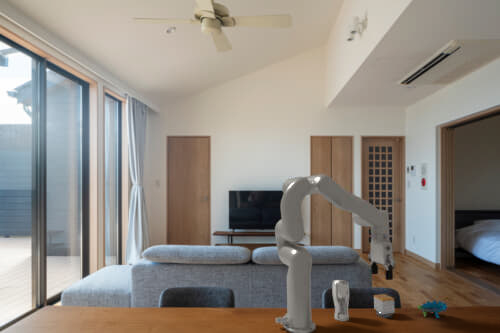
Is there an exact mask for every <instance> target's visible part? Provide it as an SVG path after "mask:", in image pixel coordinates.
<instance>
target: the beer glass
mask: <svg viewBox="0 0 500 333" xmlns="http://www.w3.org/2000/svg"><path fill="white" fill-rule="evenodd" d="M331 286H332V287H331V289H332V290H331V291H332V299H333V304H334V317H333V318H334V319H335V320H336V321H340V322H347V321H349V320H350V316H349V301H350V286H349V282H348V280H347V281H346V280H343V279H334V280H332V285H331Z"/></svg>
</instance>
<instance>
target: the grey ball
mask: <svg viewBox="0 0 500 333" xmlns="http://www.w3.org/2000/svg"><path fill="white" fill-rule="evenodd" d="M375 311H376V316H377V315H378V316H377V317H379V316H380V317H379V318H382V317H383V318H382V319H392V318H393V317H392V316H394V315H393V314H394V313H389V314H382V313H380V312H379V311H377V310H375ZM391 317H392V318H391Z"/></svg>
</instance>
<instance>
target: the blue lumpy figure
mask: <svg viewBox="0 0 500 333" xmlns="http://www.w3.org/2000/svg"><path fill="white" fill-rule="evenodd" d="M431 301H432V302H431ZM431 301H430V300H427V301H426V302H423V303H422V305H420V304H419V305H417V306H418V309H419V310H421V312H422V313H423V316H424V317H425V316H427V312H430V313H432V312H435V313H434V315H435V318H436V319H437V318H439V319H440V316H439V314H440V313H442V312H446V310H447V309H448V306H447V303H446V302H443V301H442V300H438V301H437V300H435V299H434V300H431Z"/></svg>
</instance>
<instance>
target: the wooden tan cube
mask: <svg viewBox="0 0 500 333" xmlns="http://www.w3.org/2000/svg"><path fill="white" fill-rule="evenodd" d="M373 306H374V308H373V309H374V310H375V311H376V310H377V311H379V312H380V313H382V314H389V313H393V314H395V313H396V312H395V311H396V310H395V298H394V297H392V296H389V295H388V294H385V293H382V294H381V293H380V294H374V295H373ZM377 311H376V312H377Z"/></svg>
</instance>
